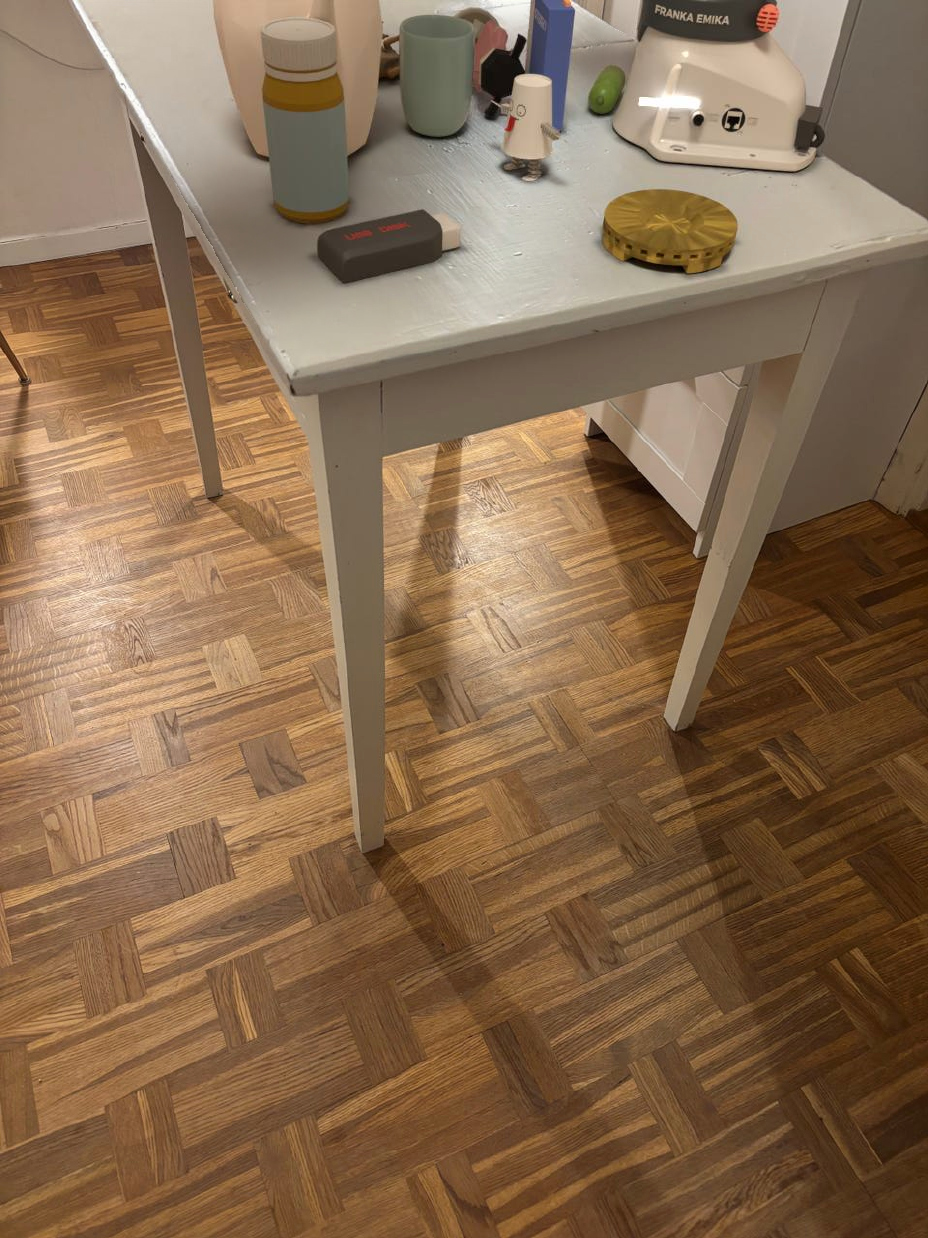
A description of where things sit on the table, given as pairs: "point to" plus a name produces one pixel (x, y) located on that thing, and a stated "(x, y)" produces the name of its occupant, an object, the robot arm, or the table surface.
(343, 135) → the bottle
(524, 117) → the toy figure
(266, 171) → the table surface
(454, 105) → the cup
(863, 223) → the table surface
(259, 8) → the watering can
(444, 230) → the usb drive
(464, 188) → the table surface
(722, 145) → the robot arm
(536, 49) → the walkman
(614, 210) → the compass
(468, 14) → the toy
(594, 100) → the pickle
